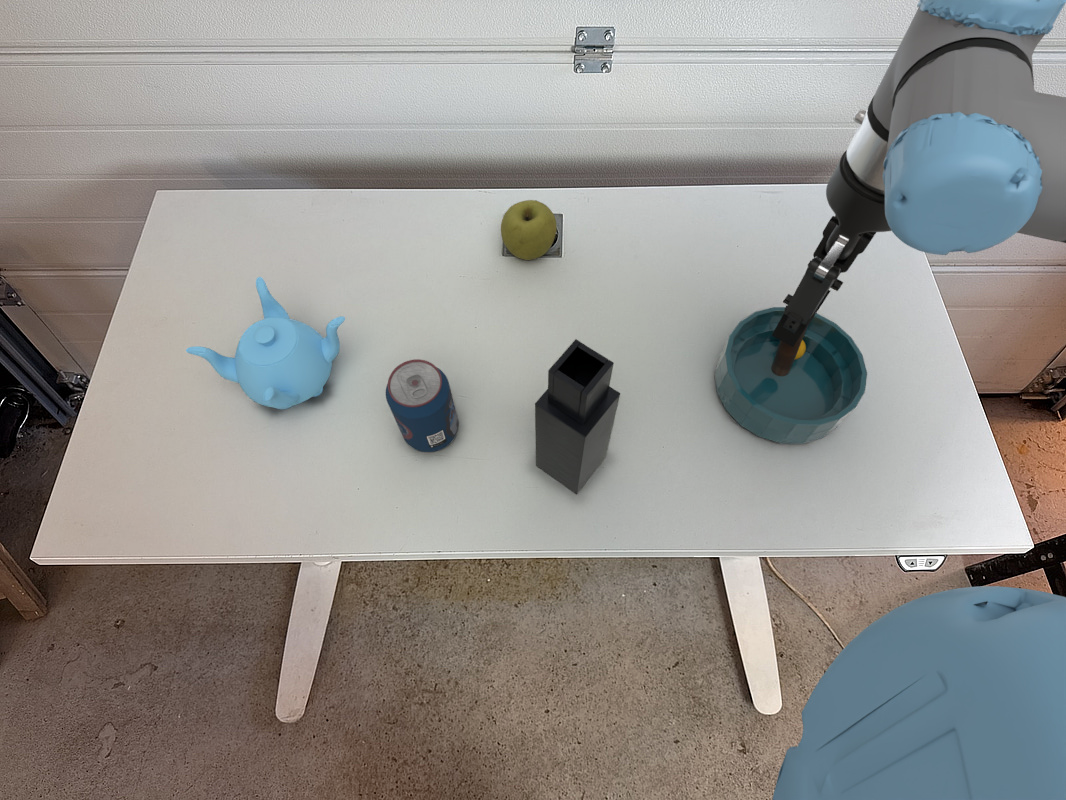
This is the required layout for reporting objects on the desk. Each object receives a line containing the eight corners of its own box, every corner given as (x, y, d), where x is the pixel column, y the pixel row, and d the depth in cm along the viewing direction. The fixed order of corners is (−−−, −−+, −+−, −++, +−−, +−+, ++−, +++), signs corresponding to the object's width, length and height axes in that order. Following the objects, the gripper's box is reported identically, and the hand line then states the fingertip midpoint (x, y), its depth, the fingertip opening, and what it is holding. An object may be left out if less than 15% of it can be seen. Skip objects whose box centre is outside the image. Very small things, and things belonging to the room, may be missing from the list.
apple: (491, 256, 91) (488, 220, 84) (523, 220, 94) (521, 183, 87) (536, 279, 89) (535, 244, 82) (566, 242, 92) (568, 205, 85)
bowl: (809, 471, 75) (829, 451, 69) (689, 398, 79) (700, 374, 74) (866, 376, 81) (889, 351, 75) (752, 313, 85) (766, 285, 80)
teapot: (222, 391, 81) (182, 349, 72) (291, 318, 86) (262, 270, 77) (298, 439, 77) (266, 401, 68) (366, 360, 83) (345, 315, 74)
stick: (779, 379, 77) (814, 290, 64) (767, 367, 78) (798, 277, 65) (793, 370, 78) (830, 280, 64) (780, 359, 79) (814, 267, 65)
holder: (576, 494, 74) (589, 408, 54) (535, 465, 75) (533, 372, 56) (605, 456, 76) (628, 360, 56) (565, 429, 78) (573, 327, 58)
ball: (800, 363, 79) (792, 342, 78) (780, 364, 81) (772, 344, 80) (813, 351, 80) (805, 330, 79) (792, 352, 82) (785, 332, 82)
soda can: (395, 417, 79) (373, 368, 68) (448, 397, 80) (434, 345, 69) (414, 465, 76) (393, 420, 65) (468, 443, 77) (456, 396, 66)
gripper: (884, 98, 55) (790, 273, 76) (805, 201, 50) (727, 359, 71) (969, 134, 53) (849, 303, 74) (896, 245, 48) (788, 394, 68)
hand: (789, 330), depth 72 cm, fingers closed on stick, 2 cm apart
